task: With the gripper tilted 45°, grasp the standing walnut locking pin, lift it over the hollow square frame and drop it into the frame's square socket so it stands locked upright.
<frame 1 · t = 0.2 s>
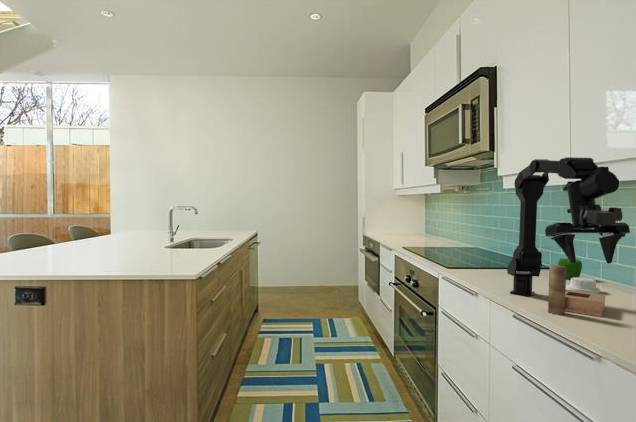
hand: (591, 263, 103), 15 cm above the worktop, tool pointing down, fingers open, 9 cm apart
mechanical component: (582, 292, 143), on the worktop
locking pin: (556, 312, 113), on the worktop
hollow square frame: (578, 308, 118), on the worktop
bell pepper: (569, 279, 166), on the worktop
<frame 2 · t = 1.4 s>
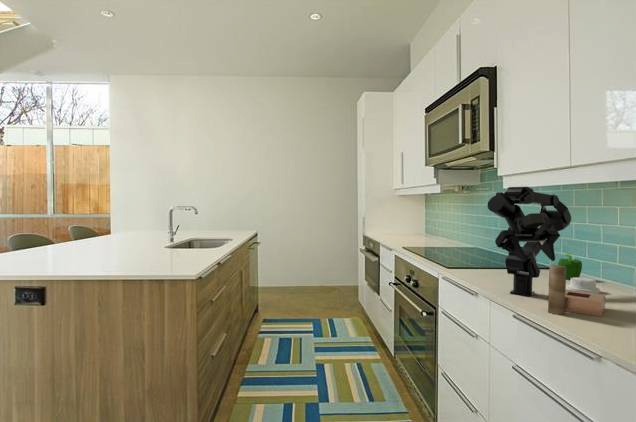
hand: (539, 260, 120), 14 cm above the worktop, tool tilted 45°, fingers open, 9 cm apart
nothing on the worktop moved.
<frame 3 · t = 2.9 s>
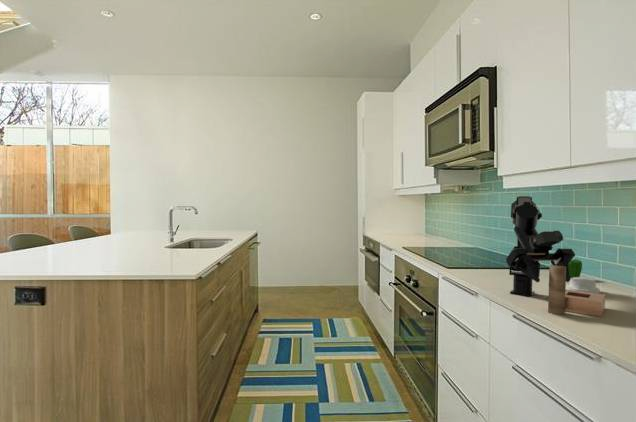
hand: (553, 281, 114), 9 cm above the worktop, tool tilted 45°, fingers open, 9 cm apart
nothing on the worktop moved.
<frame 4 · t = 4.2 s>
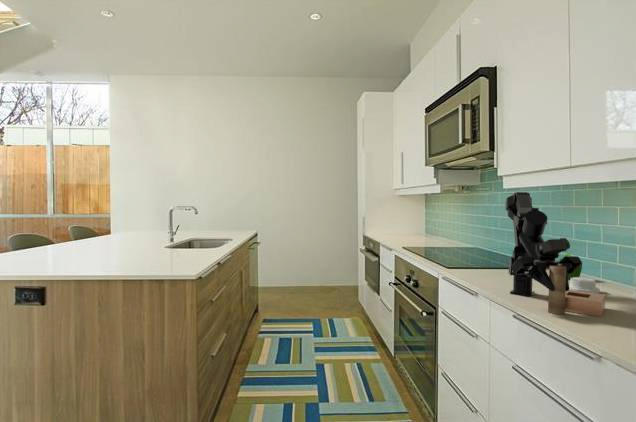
hand: (560, 290, 112), 7 cm above the worktop, tool tilted 45°, fingers closed on locking pin, 4 cm apart
locking pin: (556, 312, 113), on the worktop, touching gripper
everything else where it was.
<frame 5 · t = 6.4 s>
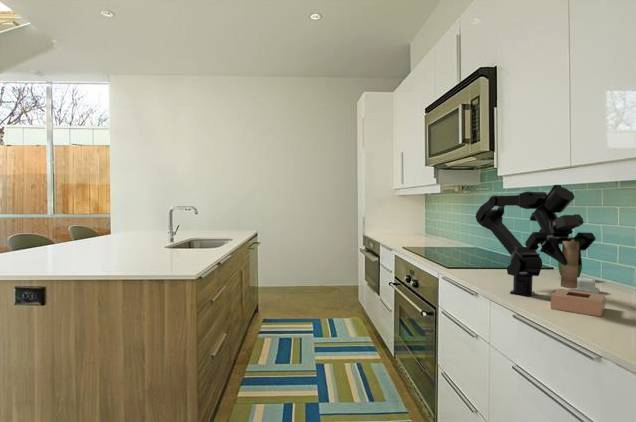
hand: (573, 264, 115), 13 cm above the worktop, tool tilted 45°, fingers closed on locking pin, 4 cm apart
locking pin: (568, 286, 116), point 7 cm above the worktop, touching gripper
everything else where it was.
when the fingers open (9 cm above the worktop, at t = 8.6 s): locking pin drops 3 cm, resting in hollow square frame.
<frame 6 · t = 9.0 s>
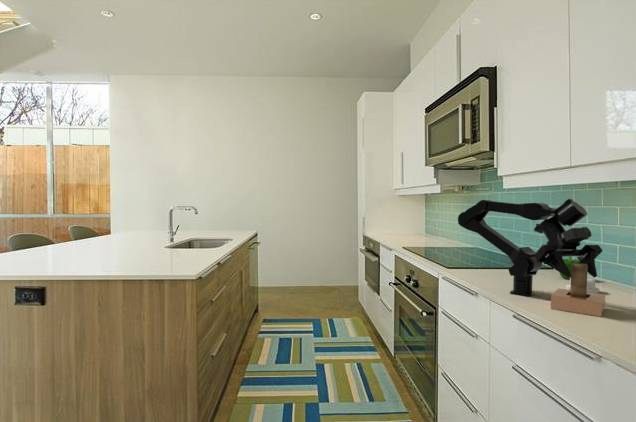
hand: (582, 276, 117), 10 cm above the worktop, tool tilted 45°, fingers open, 8 cm apart
locking pin: (577, 308, 118), resting in hollow square frame
everything else where it was.
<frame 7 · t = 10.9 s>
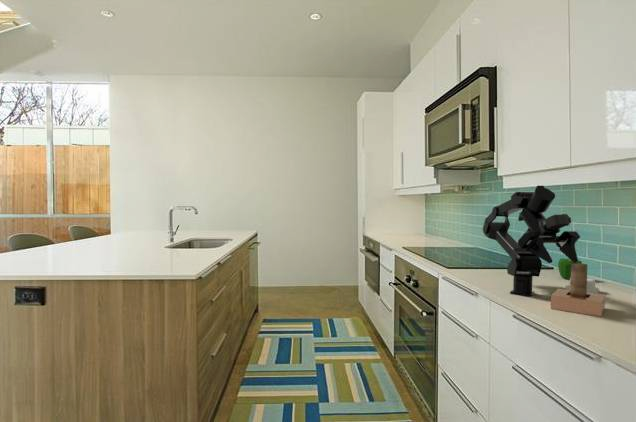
hand: (564, 262, 119), 13 cm above the worktop, tool tilted 45°, fingers open, 9 cm apart
nothing on the worktop moved.
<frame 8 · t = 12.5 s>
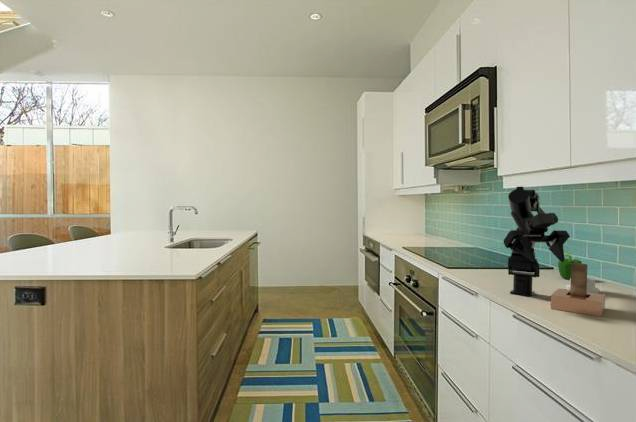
hand: (549, 261, 119), 14 cm above the worktop, tool tilted 45°, fingers open, 9 cm apart
nothing on the worktop moved.
at the end: locking pin 0.1 cm off-centre on the hollow square frame, point 0.0 cm above the hollow square frame's base; locking pin tilted 0°; the gripper is holding nothing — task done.
